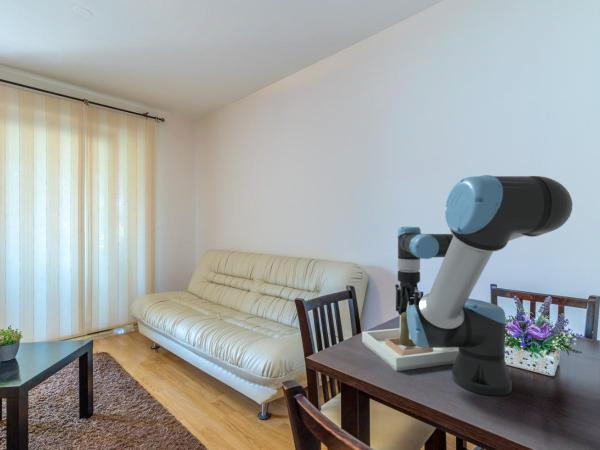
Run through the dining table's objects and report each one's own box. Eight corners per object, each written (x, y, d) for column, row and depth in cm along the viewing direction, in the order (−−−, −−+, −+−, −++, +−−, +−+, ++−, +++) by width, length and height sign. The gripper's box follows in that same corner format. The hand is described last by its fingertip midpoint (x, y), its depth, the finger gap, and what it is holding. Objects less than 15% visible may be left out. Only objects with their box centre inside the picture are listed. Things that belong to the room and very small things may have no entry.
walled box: (461, 362, 106) (461, 350, 106) (396, 371, 100) (396, 358, 100) (417, 336, 129) (417, 326, 129) (362, 342, 123) (362, 331, 123)
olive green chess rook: (414, 340, 117) (414, 310, 117) (419, 347, 111) (419, 315, 111) (397, 339, 118) (397, 309, 117) (401, 346, 112) (401, 315, 111)
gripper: (435, 274, 106) (434, 344, 107) (403, 266, 124) (403, 326, 124) (414, 275, 104) (414, 346, 105) (386, 266, 122) (385, 328, 122)
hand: (408, 335), depth 114 cm, fingers closed on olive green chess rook, 5 cm apart
